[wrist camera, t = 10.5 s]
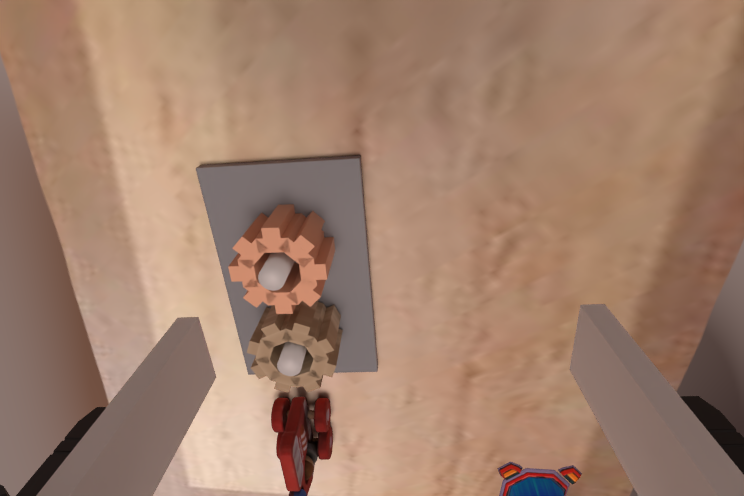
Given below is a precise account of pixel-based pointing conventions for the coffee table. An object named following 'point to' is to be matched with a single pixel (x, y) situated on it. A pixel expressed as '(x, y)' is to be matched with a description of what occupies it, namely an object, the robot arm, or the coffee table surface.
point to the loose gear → (295, 240)
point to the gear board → (307, 196)
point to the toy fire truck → (301, 440)
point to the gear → (302, 328)
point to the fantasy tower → (536, 480)
